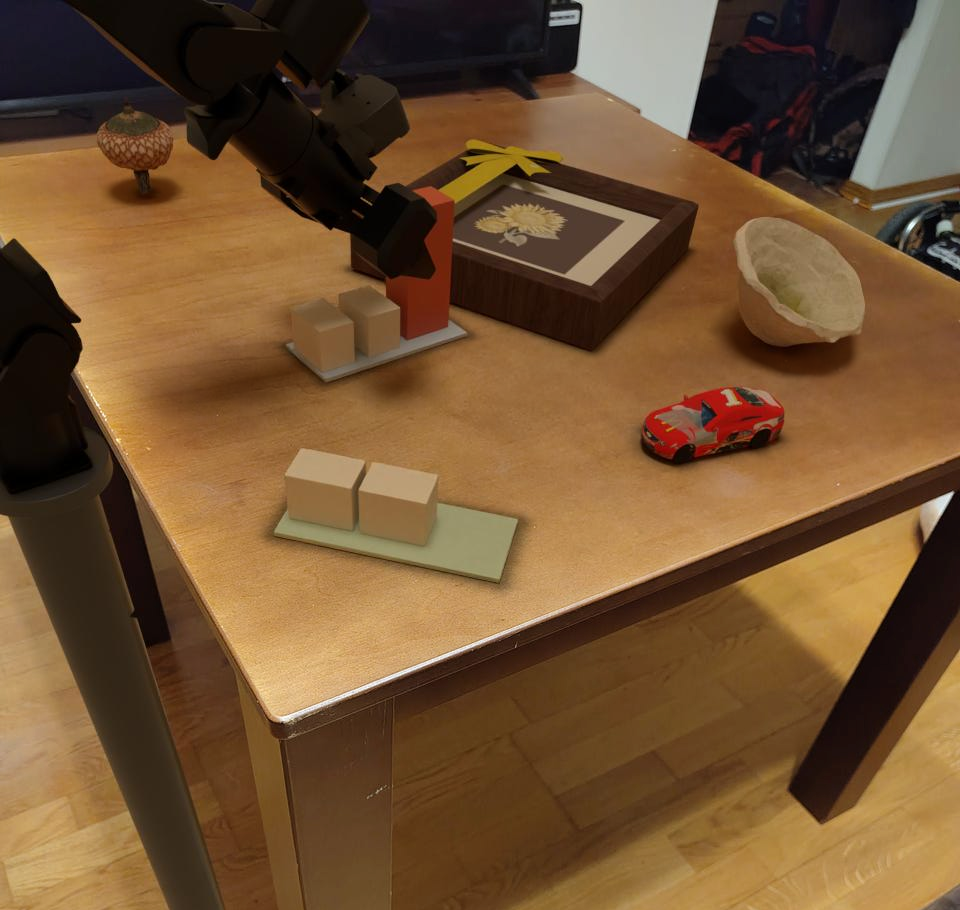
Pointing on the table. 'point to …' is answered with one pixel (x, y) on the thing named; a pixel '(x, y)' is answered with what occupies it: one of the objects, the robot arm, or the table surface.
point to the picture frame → (552, 240)
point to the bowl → (795, 285)
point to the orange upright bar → (429, 298)
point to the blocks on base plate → (356, 334)
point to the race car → (713, 423)
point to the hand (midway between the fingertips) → (401, 253)
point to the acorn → (136, 143)
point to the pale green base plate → (390, 516)
